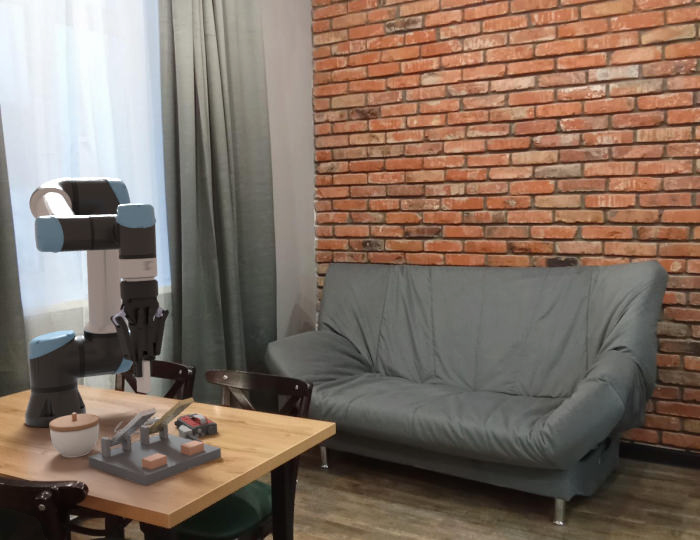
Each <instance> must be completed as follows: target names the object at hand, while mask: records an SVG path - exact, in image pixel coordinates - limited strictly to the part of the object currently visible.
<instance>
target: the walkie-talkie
mask: <svg viewBox="0 0 700 540" xmlns="http://www.w3.org/2000/svg"><path fill="white" fill-rule="evenodd" d="M173 424H174V426H175V427H177V429H178V437H182V438H185V439H189V440H193V441H194V440H196V441H199V442H203V440H201V439H199V438H202V437H207V436H213V435H216V434H218V424H217V422H215V421H213V420H212V419H209V418H207V416H204V415H203V414H202V413H196V412H194V413H188V414H185V415H180V416H179V417H178V416H177V418H176V420H175V421H174V422H173Z"/></svg>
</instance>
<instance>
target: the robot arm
mask: <svg viewBox="0 0 700 540" xmlns="http://www.w3.org/2000/svg"><path fill="white" fill-rule="evenodd" d="M28 204H29V209H30V212H31V214H32V215H31V216H33V217H34V237H35V246H36V250H37V251H39V252H41V253H53V254H56V253H57V254H58V253H61V252H62V253H63V252H65V253H66V252H85V251H86V267H87V268H86V270H87V298H88V301H87V302H88V322H87V324H85V325H84V326H83V334H77V335H76V332H75V331H74V330H71V329H67V330H58V331H53V332H49V333H48V332H47V333H45V334H41V335H38V336H36V337H34V338H32V339H31V340H30V341H29V344H28V356H27V359H28V360H29V362H28V363H29V377H30V378H29V379H30V396H29V400H28V402H27V403H28V404H27V407H26V410H25V414H24V420H25V421H24V422H25V425H27V426H29V427H35V428H47V427H48V428H49V423H50V422H51V421H52V420H54V419H56V418H59V417H63V416H67V415H72V413H77V414H87V408H86V407H87V406H86V405H85V401H84V399H83V397H82V395H81V393H80V390H79V386H78V379H80V378H81V379H82V378H90V377H98V376H105V375H106V376H108V375H112V376H113V375H114V376H115V375H116V374H122V373H126V372H128V371H129V370H131V367H132V369H133V370H132V371H133V377H134V378H136V392H137V393H143V394H149V393H152V385H151V384H152V383H151V375H153V373H154V372H153V371H154V368H153V361H155V360H156V359H157V356H160V355H161V352H162V347H163V346H162V345H163V340H164V339H163V338H164V331H165V326H166V320H167V318H168V316H169V314H170V310H169V309H167V308H162V307H161V306H160V303H159V301H158V297H159V281H158V280H157V278H156V277H158V260H157V259H158V257H157V240H156V239H157V237H156V236H157V235H156V232H157V231H156V223H157V218H156V215H155V207H154V206H153V205H152V204H149V203H131V199H130V194H129V190H128V188H127V186H126V184H125V182H124V180H121V179H119V178H111V177H89V178H88V177H81V178H80V177H79V178H78V177H73V178H71V177H62V178H61V177H60V178H57V179H52V180H50V181H47V182H45V183H43V184H41V185H39V186H38V187H37V188H36V189H35V190H34V191H33V192H32V194H31V196H30V198H29V203H28ZM127 321H128V323H127Z"/></svg>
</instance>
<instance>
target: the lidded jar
mask: <svg viewBox="0 0 700 540" xmlns="http://www.w3.org/2000/svg"><path fill="white" fill-rule="evenodd" d="M48 428H49V434H50V439H51V444H52V446H53V448H54V449H55V451H56V452H57V453H59V454H61V456H62V457H63V458H68V459H69V458H71V459H72V458H79V457H83V456H87V455H88V454H90V453H91V450H92V449H94V447H95V446H96V444H97V443H98V441H99V436H100V416H98V415H97V414H93V413H86V414H77V413H72V415H67V416H63V417H59V418H56V419H54V420H52V421H51V422H50V423H49V427H48Z"/></svg>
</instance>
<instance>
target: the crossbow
mask: <svg viewBox="0 0 700 540" xmlns="http://www.w3.org/2000/svg"><path fill="white" fill-rule="evenodd" d="M160 418H161V417H155V416H154V417H153V416H152V417H151V418H150V419H148V420H147V421H146V422H145V423H144V424H143V425H145V426H149V425H151V426H152V425H153V424H154V423H155V422H156V421H158V420H159V419H160ZM123 422H125V420H122V421H120V422H119V423H118V424H117V425H116V426H115V428H114V431H113V432H114V434H117V433H118V432H119V431H120V430H122V429H123V428H121V429H120V428H119V427H120V426H121V425H122V424H123ZM118 428H119V429H118ZM117 429H118V430H117ZM134 434H140V430H138V431H135V432H134V433H133V434H132V435H134Z"/></svg>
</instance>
